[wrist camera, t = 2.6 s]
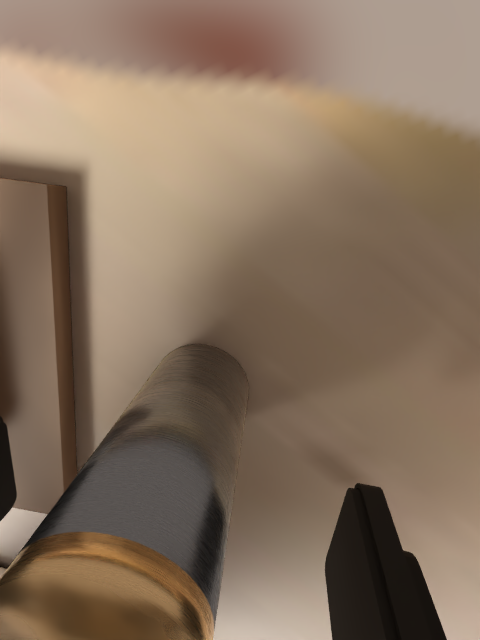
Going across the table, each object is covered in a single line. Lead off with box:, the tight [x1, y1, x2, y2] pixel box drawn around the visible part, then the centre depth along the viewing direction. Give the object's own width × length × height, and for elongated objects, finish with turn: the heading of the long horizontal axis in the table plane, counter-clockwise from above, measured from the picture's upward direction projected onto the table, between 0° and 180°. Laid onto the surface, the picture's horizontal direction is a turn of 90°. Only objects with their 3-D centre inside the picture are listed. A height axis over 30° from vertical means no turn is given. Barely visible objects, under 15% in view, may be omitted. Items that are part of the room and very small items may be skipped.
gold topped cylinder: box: [0, 344, 249, 640], centre depth 11 cm, size 4×4×10 cm
